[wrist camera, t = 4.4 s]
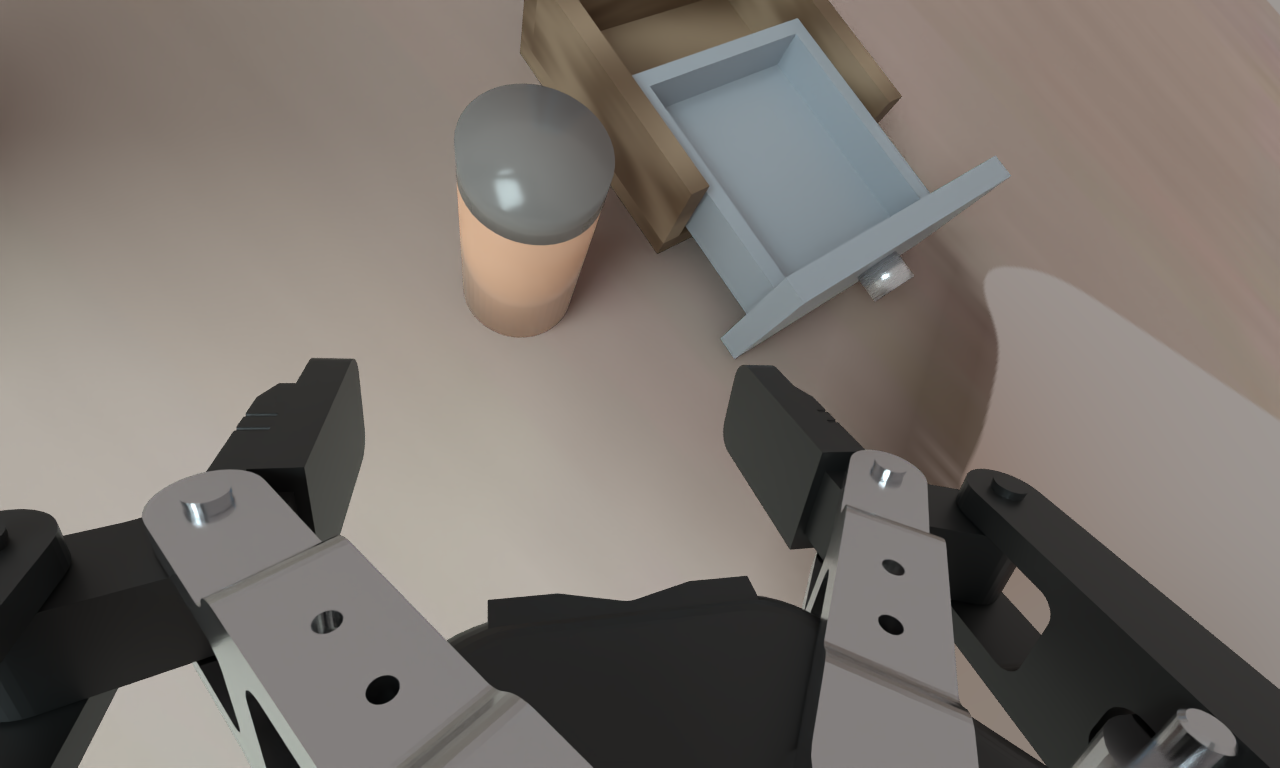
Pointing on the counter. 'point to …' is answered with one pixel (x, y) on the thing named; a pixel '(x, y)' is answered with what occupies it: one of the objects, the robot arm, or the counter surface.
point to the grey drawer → (796, 178)
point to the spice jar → (527, 203)
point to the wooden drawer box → (647, 38)
